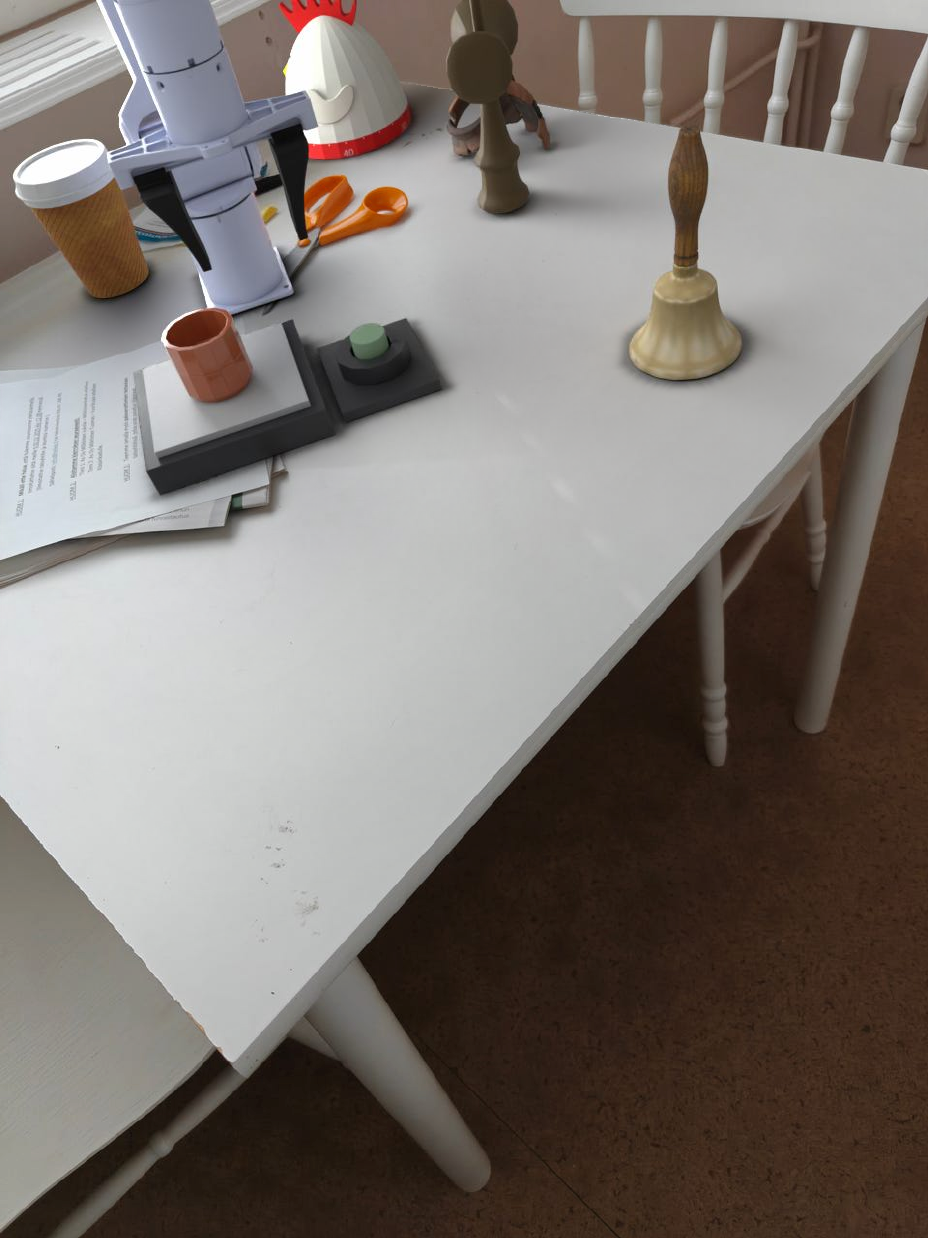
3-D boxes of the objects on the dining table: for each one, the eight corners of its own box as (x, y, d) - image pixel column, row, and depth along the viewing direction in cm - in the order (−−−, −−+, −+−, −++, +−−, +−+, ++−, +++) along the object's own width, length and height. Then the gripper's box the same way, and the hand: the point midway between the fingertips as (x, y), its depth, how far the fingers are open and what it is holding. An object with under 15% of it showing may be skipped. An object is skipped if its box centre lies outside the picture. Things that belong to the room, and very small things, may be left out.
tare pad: (319, 356, 78) (310, 331, 76) (408, 326, 79) (402, 300, 77) (344, 423, 72) (336, 396, 70) (442, 389, 72) (436, 362, 70)
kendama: (536, 176, 92) (508, -64, 77) (534, 225, 86) (504, -25, 71) (476, 184, 93) (437, -51, 78) (471, 233, 87) (427, -11, 72)
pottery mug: (558, 165, 93) (511, 105, 88) (483, 211, 99) (434, 157, 93) (555, 85, 98) (510, 23, 93) (483, 133, 104) (437, 78, 98)
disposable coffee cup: (84, 319, 89) (17, 198, 80) (65, 280, 95) (0, 163, 86) (175, 280, 91) (119, 157, 82) (151, 245, 97) (96, 126, 88)
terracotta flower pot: (184, 376, 74) (157, 322, 70) (249, 354, 75) (227, 299, 71) (191, 414, 71) (164, 358, 67) (260, 390, 71) (237, 334, 67)
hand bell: (648, 311, 74) (643, 100, 62) (754, 321, 71) (770, 100, 59) (614, 374, 69) (601, 159, 57) (725, 388, 66) (736, 164, 54)
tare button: (351, 346, 74) (346, 330, 73) (384, 335, 74) (379, 318, 73) (359, 364, 72) (353, 347, 71) (392, 353, 73) (388, 336, 71)
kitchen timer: (307, 112, 113) (266, -31, 101) (417, 96, 110) (387, -53, 99) (282, 166, 104) (234, 16, 93) (401, 149, 101) (366, -8, 90)
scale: (145, 395, 79) (129, 365, 77) (301, 342, 80) (290, 312, 78) (159, 495, 70) (142, 465, 68) (335, 434, 71) (324, 402, 69)
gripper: (77, 109, 58) (168, 303, 68) (298, 40, 59) (355, 242, 69) (74, 74, 62) (160, 261, 73) (279, 10, 63) (335, 203, 74)
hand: (254, 249), depth 71 cm, fingers open, 7 cm apart
